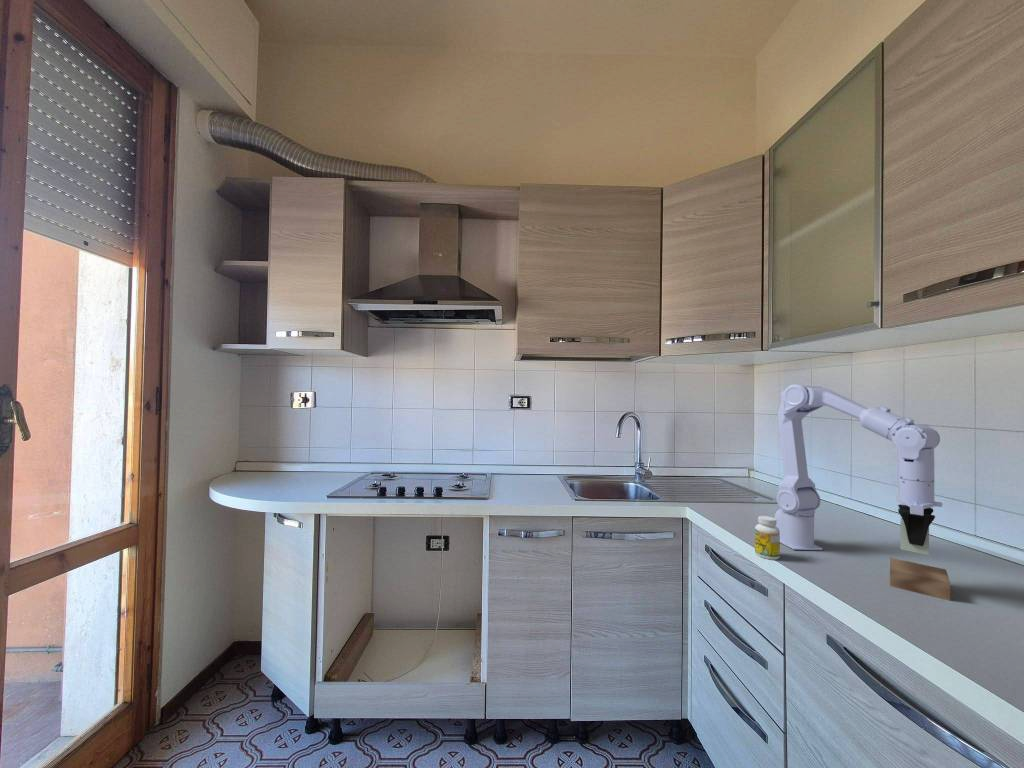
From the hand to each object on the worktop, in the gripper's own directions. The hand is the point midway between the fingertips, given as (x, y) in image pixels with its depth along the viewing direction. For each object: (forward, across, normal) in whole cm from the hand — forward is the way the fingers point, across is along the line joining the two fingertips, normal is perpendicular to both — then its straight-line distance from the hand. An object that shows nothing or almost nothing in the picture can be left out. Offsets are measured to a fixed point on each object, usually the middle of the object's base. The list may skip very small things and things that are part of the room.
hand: (915, 541), depth 91 cm
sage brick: (+2, 0, 0) cm, 2 cm away
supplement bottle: (+10, -5, +27) cm, 29 cm away
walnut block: (+10, 0, 0) cm, 10 cm away
